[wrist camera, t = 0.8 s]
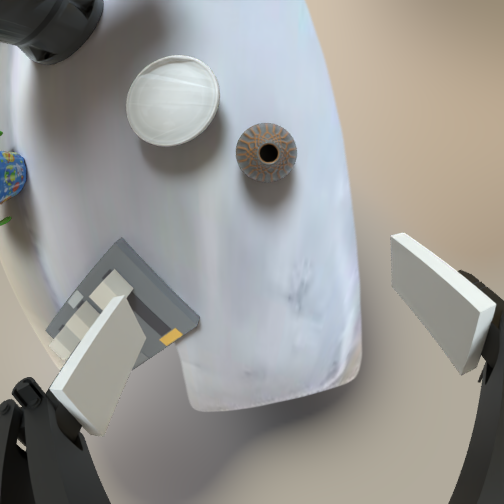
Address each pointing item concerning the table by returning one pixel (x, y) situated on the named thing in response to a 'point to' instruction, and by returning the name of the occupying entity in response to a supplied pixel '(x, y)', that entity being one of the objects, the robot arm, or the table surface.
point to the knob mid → (82, 320)
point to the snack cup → (11, 176)
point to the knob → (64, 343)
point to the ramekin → (172, 100)
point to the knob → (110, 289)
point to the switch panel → (134, 301)
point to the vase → (266, 152)
